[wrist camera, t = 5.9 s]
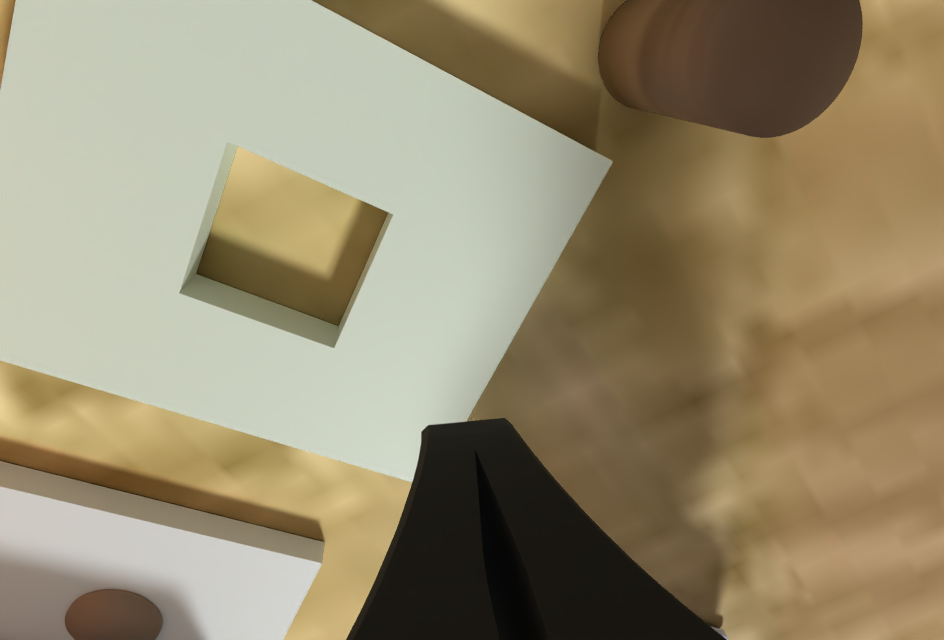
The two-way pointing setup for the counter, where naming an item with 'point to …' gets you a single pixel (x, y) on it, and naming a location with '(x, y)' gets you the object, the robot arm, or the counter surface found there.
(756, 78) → the peg
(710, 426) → the counter surface
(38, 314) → the socket board
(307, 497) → the counter surface
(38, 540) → the base
